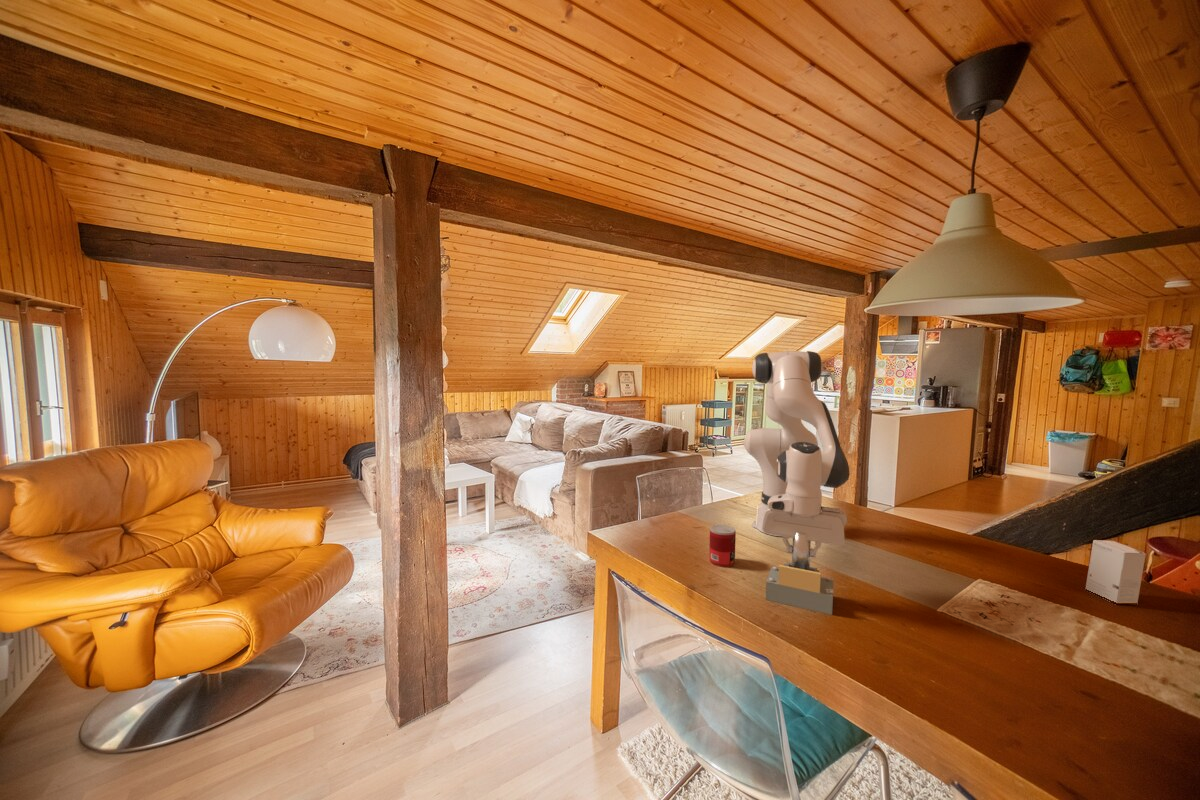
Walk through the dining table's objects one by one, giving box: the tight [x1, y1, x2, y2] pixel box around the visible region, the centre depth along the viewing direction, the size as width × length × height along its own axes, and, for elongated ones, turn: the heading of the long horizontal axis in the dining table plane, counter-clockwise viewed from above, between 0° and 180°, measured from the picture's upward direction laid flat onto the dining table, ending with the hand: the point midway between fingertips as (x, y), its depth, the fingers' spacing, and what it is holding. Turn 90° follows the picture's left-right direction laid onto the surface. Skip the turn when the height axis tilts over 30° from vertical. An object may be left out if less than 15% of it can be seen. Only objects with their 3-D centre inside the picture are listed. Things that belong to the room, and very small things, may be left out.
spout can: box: [791, 533, 812, 570], centre depth 123 cm, size 4×4×11 cm
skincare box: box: [1085, 539, 1147, 604], centre depth 124 cm, size 8×6×15 cm
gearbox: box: [765, 562, 835, 616], centre depth 124 cm, size 10×16×10 cm, turn 62°
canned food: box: [708, 524, 737, 568], centre depth 147 cm, size 8×8×11 cm
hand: (801, 554), depth 123 cm, fingers closed on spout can, 4 cm apart
